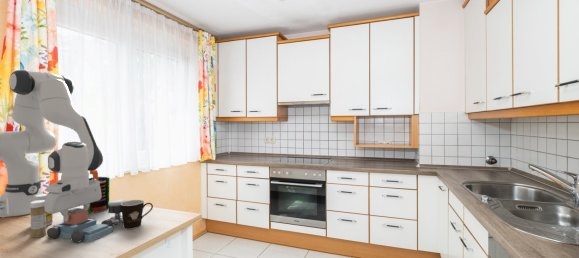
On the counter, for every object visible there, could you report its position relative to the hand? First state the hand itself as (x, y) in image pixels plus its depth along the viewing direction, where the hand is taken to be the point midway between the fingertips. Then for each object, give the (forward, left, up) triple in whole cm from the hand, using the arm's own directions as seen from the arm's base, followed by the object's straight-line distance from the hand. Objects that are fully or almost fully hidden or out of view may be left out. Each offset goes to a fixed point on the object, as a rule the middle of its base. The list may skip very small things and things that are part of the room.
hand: (75, 217), depth 111 cm
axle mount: (+6, +14, -6) cm, 16 cm away
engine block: (0, 0, -2) cm, 2 cm away
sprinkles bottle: (-11, -6, -6) cm, 14 cm away
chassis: (+3, 0, -6) cm, 7 cm away
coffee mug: (+17, +13, -6) cm, 22 cm away
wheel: (+6, +14, -1) cm, 15 cm away
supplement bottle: (-21, +2, -6) cm, 22 cm away
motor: (-18, +24, -6) cm, 31 cm away
